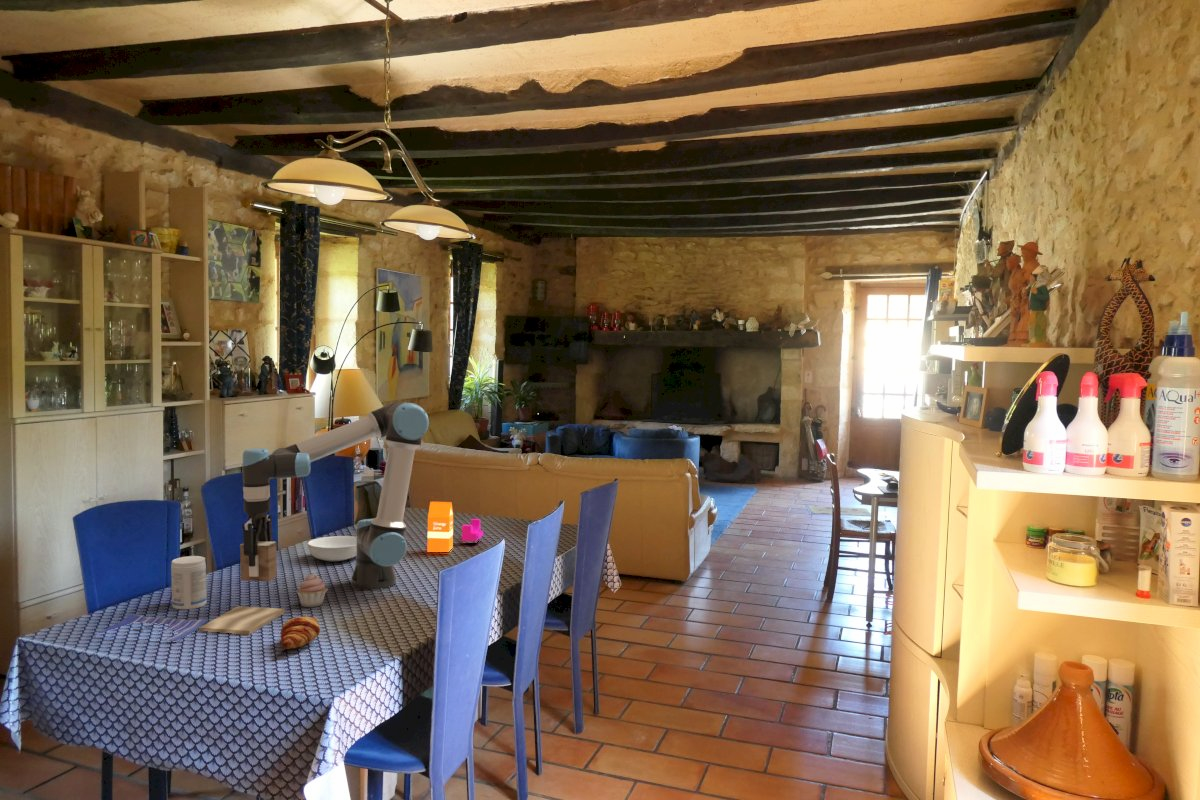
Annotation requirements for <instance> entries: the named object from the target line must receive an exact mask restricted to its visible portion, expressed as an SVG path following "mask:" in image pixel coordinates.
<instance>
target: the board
mask: <svg viewBox="0 0 1200 800" xmlns="http://www.w3.org/2000/svg"><path fill="white" fill-rule="evenodd" d="M285 612H286V611H285V608H276V607H275V608H273V607H258V606H257V607H256V606H243V605H242V606H240V605H237V606H236V607H234V608H232V609H231V610H229V611H227V612H225V613H223V614H221V615H219V616H217V617H216V618H214V619H212V620H210V621H208V622H207V624H205V625H203V626H201V627H199V630H198V632H199V631H208V632H207V633H211V632H220V633H219V634H226V633H232V634H231V635H242V636H245V635H247V636H250V635H252V634H254V633H255V632H257V631H258V630H260V629H261V628H263V627H265V626H266V625H268V624H269V623H271V622H273V621H274V620H276V619H277V618H279V617H280V616H282V615H283V614H285Z"/></svg>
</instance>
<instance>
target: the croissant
mask: <svg viewBox="0 0 1200 800" xmlns="http://www.w3.org/2000/svg"><path fill="white" fill-rule="evenodd" d="M319 623H320V622H319V620H318V618H315V617H313V616H306V615H304V616H296V617H292V618H291V619H289V620H287V621H286V622H285V623H284V624H283V625H282V627H281V629H280V643H279V644H280V646H281V647H282V648H283V649H285V650H290V649H296V648H301V647H303V646H304V645H306V644H310V643H312V641H313V640H314V639H316V638H317V637H318V636H319V635H320V634H321V627H320V625H319Z"/></svg>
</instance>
